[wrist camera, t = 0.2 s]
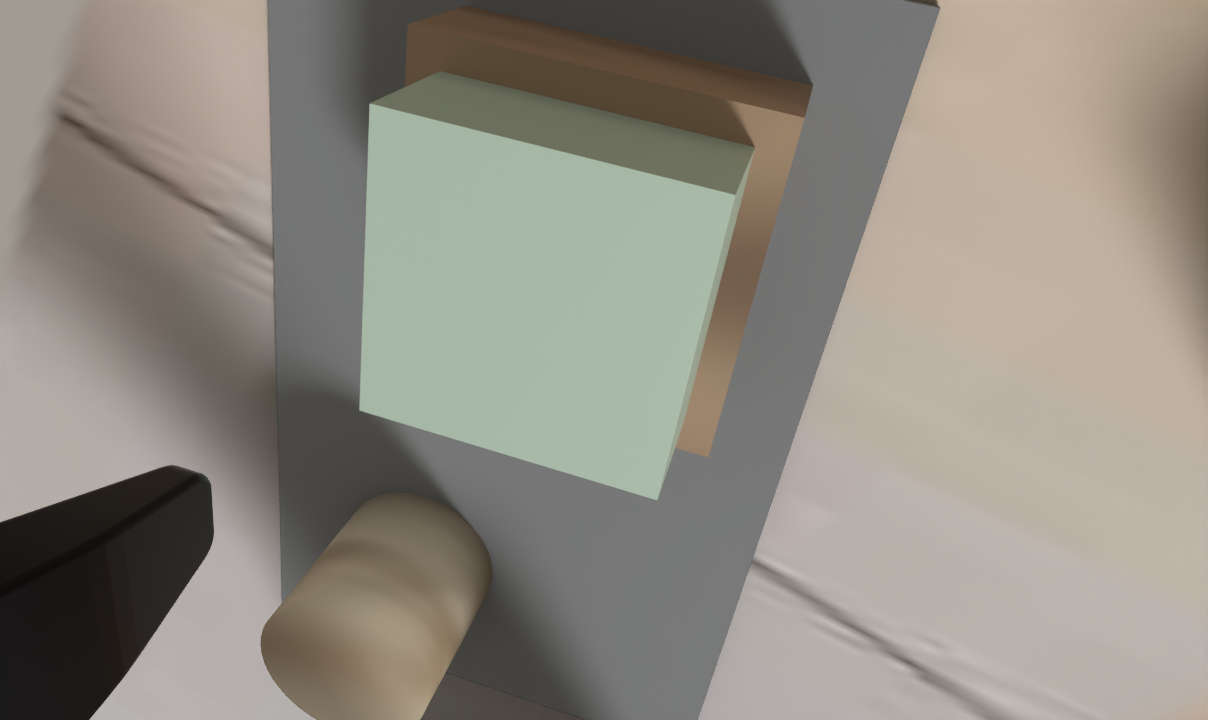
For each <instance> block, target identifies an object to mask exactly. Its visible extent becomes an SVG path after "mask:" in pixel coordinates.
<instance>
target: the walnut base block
mask: <svg viewBox="0 0 1208 720" xmlns="http://www.w3.org/2000/svg"><path fill="white" fill-rule="evenodd" d="M439 71H442V72H446V73H450V74H454V75H459V76H463V77H467V78H471V79H475V80H479V81H483V82H487V83H492V84H496V85H500V86H504V87H508V88H512V89H516V90H521V91H525V92H529V93H533V94H537V95H541V96H545V97H549V98H554V99H558V100H562V101H566V102H570V103H574V104H578V105H583V106H587V107H591V108H595V109H599V110H603V111H607V112H611V113H616V114H620V115H624V116H628V117H632V118H636V119H640V120H645V121H649V122H653V123H657V124H661V125H665V126H669V127H673V128H678V129H682V130H686V131H690V132H694V133H698V134H702V135H706V136H711V137H715V138H719V139H723V140H727V141H731V142H735V143H740V144H744V145H748V146H752V147H755V150H754V154H753V158H752V162H751V166H750V170H749V173H748V177H747V181H746V185H745V189H744V193H743V197H742V200H741V204H740V208H739V212H738V216H737V220H736V223H735V227H734V231H733V235H732V239H731V243H730V247H729V250H728V254H727V258H726V262H725V266H724V270H723V273H722V277H721V281H720V285H719V289H718V293H717V296H716V300H715V304H714V308H713V312H712V316H711V320H710V323H709V327H708V331H707V335H706V339H705V343H704V346H703V350H702V354H701V358H700V362H699V366H698V369H697V373H696V377H695V381H694V385H693V389H692V393H691V396H690V400H689V404H688V408H687V412H686V416H685V419H684V423H683V426H682V429H681V432H680V435H679V438H678V441H677V444H676V447H675V448H677V449H681V450H684V451H688V452H691V453H694V454H698V455H701V456H705V457H709V453H710V450H711V446H712V443H713V439H714V435H715V432H716V428H717V425H718V421H719V418H720V414H721V411H722V407H723V404H724V400H725V397H726V393H727V390H728V386H729V383H730V379H731V376H732V372H733V369H734V365H735V362H736V358H737V355H738V351H739V348H740V344H741V341H742V337H743V333H744V330H745V326H746V323H747V319H748V316H749V312H750V309H751V305H752V302H753V298H754V295H755V291H756V288H757V284H758V281H759V277H760V274H761V270H762V267H763V263H764V260H765V256H766V253H767V249H768V246H769V242H770V238H771V235H772V231H773V228H774V224H775V221H776V217H777V214H778V210H779V207H780V203H781V200H782V196H783V193H784V189H785V186H786V182H787V179H788V175H789V172H790V168H791V165H792V161H793V158H794V154H795V151H796V147H797V144H798V140H799V136H800V133H801V129H802V126H803V122H804V119H805V115H806V111H807V108H808V104H809V100H810V96H811V92H812V89H813V85H809V84H805V83H800V82H796V81H791V80H787V79H783V78H778V77H774V76H770V75H765V74H761V73H757V72H752V71H748V70H744V69H739V68H735V67H731V66H726V65H722V64H718V63H713V62H709V61H705V60H700V59H696V58H692V57H687V56H683V55H679V54H674V53H670V52H666V51H661V50H657V49H653V48H648V47H644V46H639V45H635V44H631V43H626V42H622V41H618V40H613V39H609V38H605V37H600V36H596V35H592V34H587V33H583V32H579V31H574V30H570V29H566V28H561V27H557V26H553V25H548V24H544V23H540V22H535V21H531V20H527V19H522V18H518V17H514V16H509V15H505V14H501V13H496V12H492V11H488V10H483V9H479V8H474V7H470V6H463V7H460V8H457V9H453V10H450V11H447V12H444V13H441V14H438V15H435V16H432V17H429V18H426V19H423V20H420V21H417V22H414V23H411V24H408V31H407V50H406V69H405V87H407V86H409V85H411V84H413V83H415V82H417V81H420V80H422V79H424V78H426V77H428V76H431V75H433V74H435V73H437V72H439Z"/></svg>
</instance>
